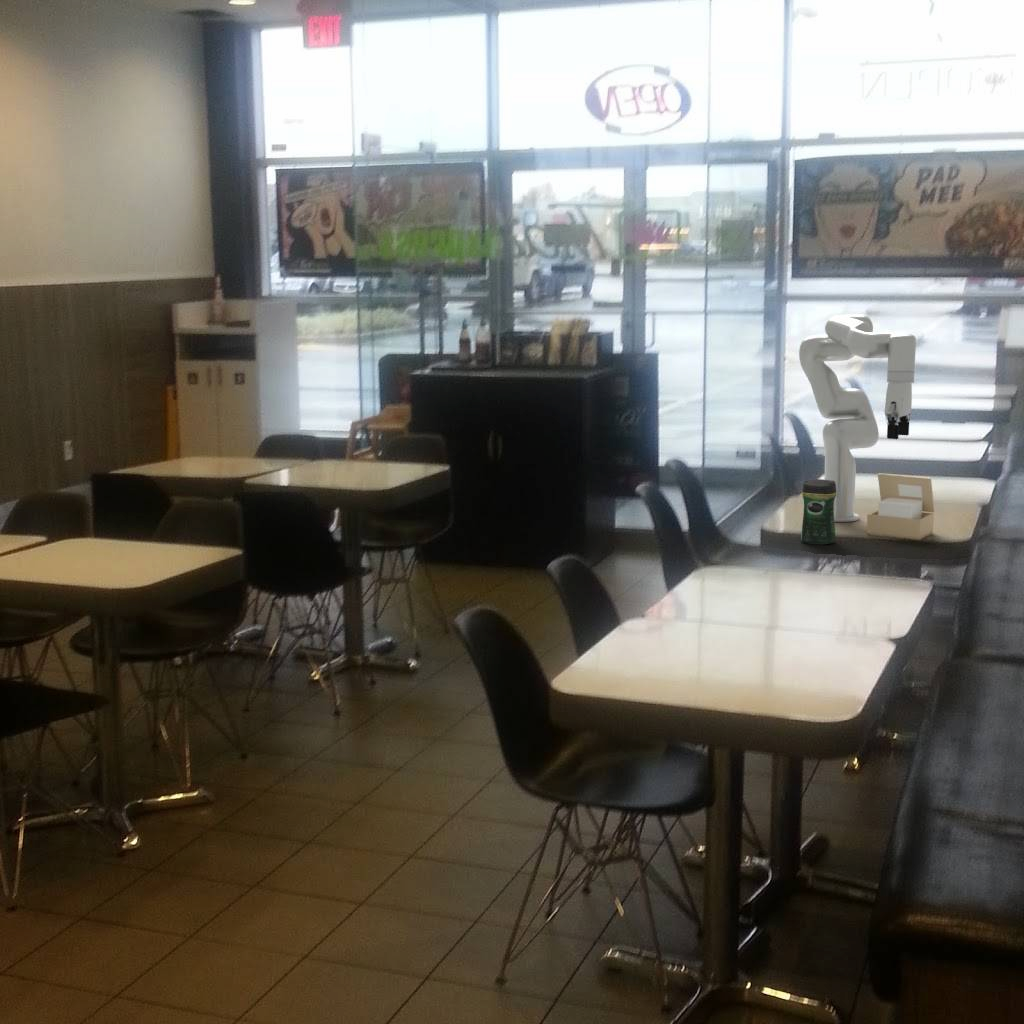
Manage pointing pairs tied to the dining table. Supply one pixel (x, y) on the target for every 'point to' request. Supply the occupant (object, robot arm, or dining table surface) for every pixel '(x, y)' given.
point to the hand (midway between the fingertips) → (897, 436)
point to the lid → (907, 488)
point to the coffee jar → (818, 511)
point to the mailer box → (900, 519)
